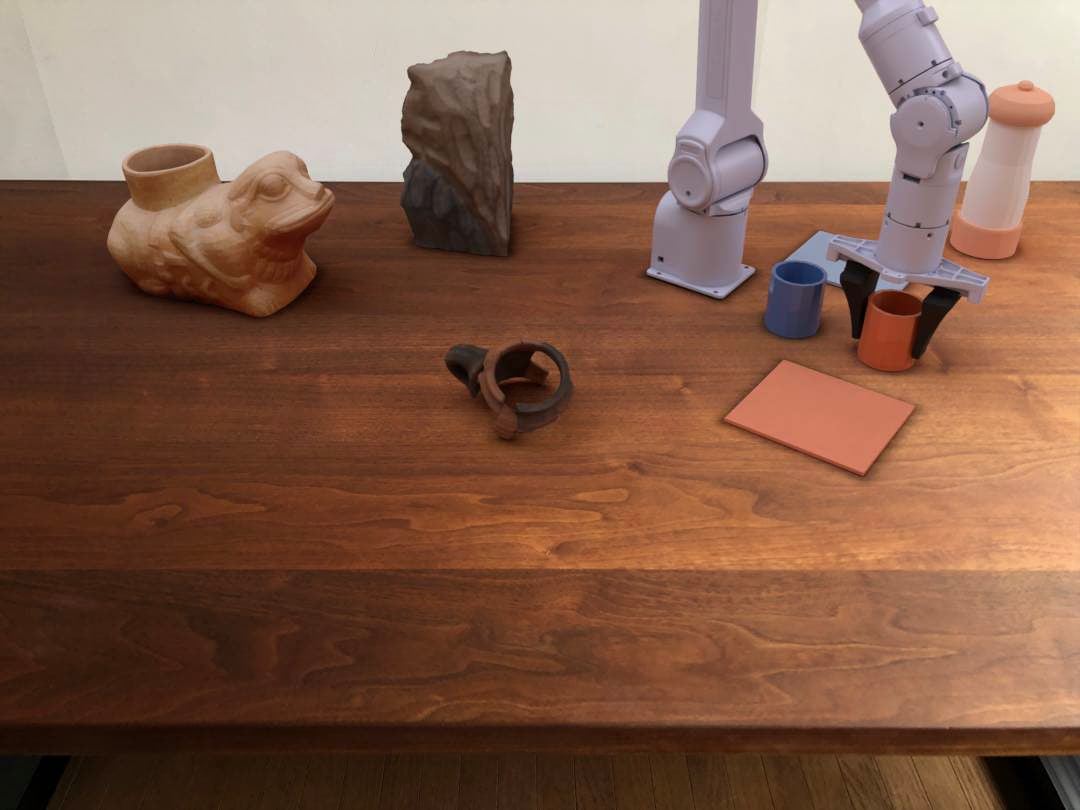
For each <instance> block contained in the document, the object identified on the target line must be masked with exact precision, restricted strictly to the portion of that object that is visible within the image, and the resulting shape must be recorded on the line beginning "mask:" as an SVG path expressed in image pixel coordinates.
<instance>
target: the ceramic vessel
mask: <svg viewBox="0 0 1080 810" xmlns="http://www.w3.org/2000/svg"><path fill="white" fill-rule="evenodd" d="M121 170H122V173H123V176H124V180H125V183H126V184H127V187H128V189H129V193H130V197H131V198H129V199H128V200H127V201H126V202H125V203H124V204H123V205H122V207H120V209H119V210H118V211H117V213H116V215H115V217H114V219H113V222H112V225H111V227H110V230H109V232H108V236H107V238H106V239H107V240H106V245H107V246H106V247H107V250H108V252H109V254H110V256H111V258H112V259H114V260H115V263H116V264H117V265H118V267H119V268H120V269H121V270H122V272H124V274H126V275H127V276H128V277H129V278H130V279H131V280H132V282H134V283H135V285H136V286H137V287H138V289H139V290H140V291H142V292H144V293H147V294H149V295H151V296H152V297H153V296H154V297H155V298H160V299H172V300H175V301H176V300H177V301H179V302H196V303H197V304H201V305H214V306H216V307H220V308H222V309H227V310H230V311H234V312H237V313H241V314H244V315H246V316H249V317H252V318H265V317H269V316H271V315H274V314H275V313H276V312H278V311H279V310H282V309H283V308H284V307H286V306H288V305H289V304H290V303H291V302H293V301H294V300H295V299H297V298H298V297H299V296H300V295H301V294H303V292H304V290H306V289H307V287H308V286H309V284H311V282H312V281H313V280H314V279H315V278H316V275H317V273H318V272H317V270H318V269H317V265H316V264H315V262H313V260H312V259H311V258H310V257H309V255H308V254H307V252H306V251H305V249H304V245H305V242H306V240H307V238H308V236H309V235H312V234H313V233H315V232H317V231H319V230H320V229H321V227H323V224H324V222H325V221H326V220H327V218H328V216H329V215H330V213H331V211H332V210H333V207H334V205H335V202H336V197H335V194H334V193H333V192H332V190H331V189H329V188H326V187H325V186H324V185H323V184H322V183H321V182H318V181H314V180H312V179H311V177H310V175H309V170H308V167H307V165H306V162H305V161H304V160H303V159H302V158H301V157H300V156H298V155H297V154H295V153H293V152H291V151H290V150H285V149H283V150H282V149H281V150H276V151H272V152H271V153H268V154H266V155H264V156H262V157H261V158H259V159H257V160H255V161H254V162H253V163H251V164H250V165H248V166H247V167H246V168H245V169H244V170H243V171H241V173H240V174H239V175H238V176H236V178H234V179H233V180H231V181H230V182H222V181H221V180H222V179H220V176H219V174H218V169H217V165H216V162H215V157H214V153H213V151H212V150H211V149H210V148H209V147H207V146H205V145H200V144H196V143H195V144H194V143H183V142H173V143H172V142H171V143H164V144H155V145H154V144H153V145H149V146H145V147H142V148H140V149H136V150H135V151H133V152H131V153H130V154H127V155H126V156H125V157H124V158H123V160H122V162H121Z"/></svg>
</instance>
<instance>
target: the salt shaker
mask: <svg viewBox="0 0 1080 810" xmlns="http://www.w3.org/2000/svg"><path fill="white" fill-rule="evenodd" d="M988 98H989V103H990V111H989V116H988V124H987V127H986V131H985V134H984V139H983V142H982V146H981V150H980V153H979V155H978V157H977V159H976V162H975V164H974V166H973V169H972V171H971V174H970V176H969V178H968V180H967V183H966V186H965V192H964V196H963V201H962V205H961V208H959V209H958V210H957V211H956V214H955V218H954V223H953V226H952V230H951V234H950V237H949V243H950V245H951V246H952V247H953V248H954V249H955V250H957V251H958V252H960V253H962V254H964V255H968V256H971V257H973V258H979V259H985V260H1000V259H1002V260H1003V259H1007V258H1010V257H1012V256H1013V255H1014V254H1015V253H1016V251H1017V247H1018V244H1019V240H1020V237H1021V234H1022V231H1023V227H1024V221H1023V219H1022V217H1023V215H1024V211H1025V207H1026V205H1027V202H1028V198H1029V196H1030V187H1031V179H1032V170H1033V161H1034V158H1035V154H1036V151H1037V147H1038V145H1039V141H1040V137H1041V134H1042V130H1043V126H1045V125H1046V124H1048V123H1049V122H1050V121H1051V120H1052V119H1053V118H1054V116H1055V114H1056V102H1055V99H1054V97H1053V96H1052V94H1050V93H1049V92H1047V91H1045V90H1044V89H1042V88H1040V87H1037V86H1035V85H1034V82H1032V81H1031V80H1027V79H1026V80H1025V79H1024V80H1021V81H1019V83H1013V84H1007V85H1003V86H999V87H997V88H995V89H994V90H993V91H992V92H990V93H989V95H988Z"/></svg>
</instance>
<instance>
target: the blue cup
mask: <svg viewBox="0 0 1080 810" xmlns="http://www.w3.org/2000/svg"><path fill="white" fill-rule="evenodd" d="M827 275H828V274H827V272H826V271H825V270H824V269H823V268H822V267H820V266H818V265H816V264H814V263H810V262H807V261H799V260H789V261H785V260H782V261H780V262H777V263H776V264H774V265H773V266H772V267H771V273H770V280H769V286H768V293H767V299H766V307H765V314H764V319H763V323H764V326H765V328H766V329H767V330H768V331H769V332H771V333H772V334H774V335H776V336H779V337H782V338H786V339H793V340H794V339H795V340H796V339H798V340H799V339H800V340H801V339H806V338H810V337H812V336H813V335H815V334H816V333H817V332H818V330H819V326H820V321H821V316H822V311H823V305H824V299H825V295H826V289H827V284H828V283H827Z"/></svg>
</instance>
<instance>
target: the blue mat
mask: <svg viewBox="0 0 1080 810" xmlns="http://www.w3.org/2000/svg"><path fill="white" fill-rule="evenodd" d="M836 235H837V234H834V233H830V232H827V231H823V230H819V231H818V232H816V233H815V234H814V235H813V236H812V237H810V238H809V239H808V240H807V241H806V242H805V243H803V244H802V245H801V246H800V247H799V248H797V249H796V250H795V251H794V252H793V253H791V254H790V255H789V256H788V257H787V258H786V259H784V261H789V260H799V261H807V262H810V263H814V264H816V265H818V266H820V267H822V268H823V269H824V270H825V271H826V272H827V274H828V275H827V283H826V284H829V285H831V286H835V287H837V288H840V289H843V288H842V286H841V284H840V274H841V273H842V272H843V271H844V268H845V267H846V262H844V261H841V260H838V261H837V262H833V261H830V260H827V259H826V256H827V251H828V245H829V241H831V240H832V239H833V238H834V237H835V236H836ZM880 277H881V273H880V276H879V279H878V282H877V286H876V289H875V291H878V290H884V289H895V290H902V291H904V289H905V288H906V287H907V286H908V285H909V284H910V283H911V282H905V281H904V282H903V283H902V284H895V283H892V282H889V281H885V280H883V279H881V278H880Z"/></svg>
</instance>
